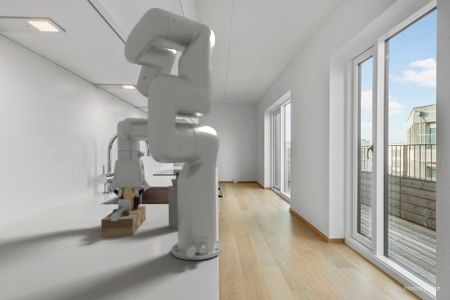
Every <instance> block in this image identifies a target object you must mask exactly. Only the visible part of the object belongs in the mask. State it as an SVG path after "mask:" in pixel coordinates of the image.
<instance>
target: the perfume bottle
mask: <svg viewBox="0 0 450 300" xmlns="http://www.w3.org/2000/svg"><path fill="white" fill-rule="evenodd" d="M179 173H180V171H176V172H175V178H171V179H170V180H171V183H172V184H171V185H169V186H167V187H168V189H167V190H168V193H167V195H168V197H167V198H168V227H169V228H173V229H178V205H177V180H178V176H179Z"/></svg>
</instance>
